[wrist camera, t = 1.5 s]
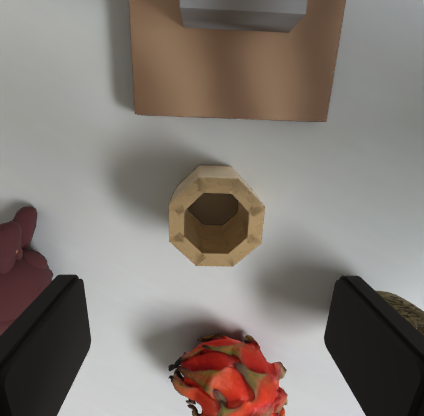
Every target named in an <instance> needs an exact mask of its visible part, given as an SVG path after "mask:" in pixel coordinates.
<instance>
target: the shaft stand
mask: <svg viewBox="0 0 424 416" xmlns="http://www.w3.org/2000/svg"><path fill="white" fill-rule="evenodd" d="M345 3H346V0H129V10H130V29H131V48H132V67H133V87H134V106H135V114H137V115H150V116H176V117H201V118H227V119H253V120H279V121H305V122H326V120H327V114H328V108H329V101H330V95H331V89H332V83H333V77H334V71H335V64H336V58H337V52H338V46H339V40H340V34H341V27H342V21H343V15H344V9H345Z"/></svg>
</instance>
